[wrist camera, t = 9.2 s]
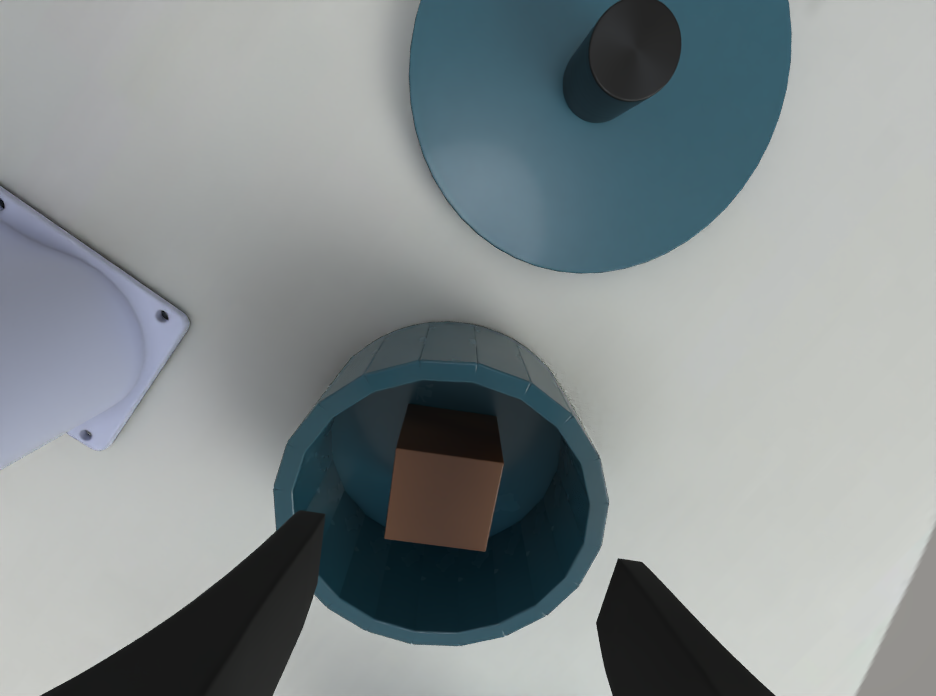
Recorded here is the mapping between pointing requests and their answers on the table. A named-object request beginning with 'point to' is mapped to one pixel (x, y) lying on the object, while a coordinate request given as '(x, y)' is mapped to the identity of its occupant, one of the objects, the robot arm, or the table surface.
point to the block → (445, 478)
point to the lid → (595, 118)
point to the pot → (517, 506)
